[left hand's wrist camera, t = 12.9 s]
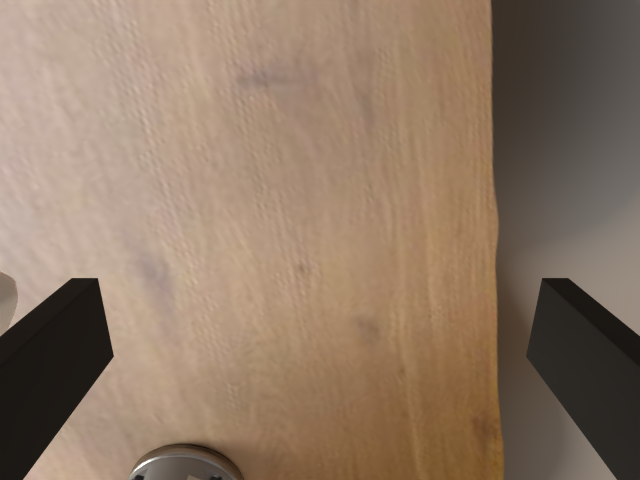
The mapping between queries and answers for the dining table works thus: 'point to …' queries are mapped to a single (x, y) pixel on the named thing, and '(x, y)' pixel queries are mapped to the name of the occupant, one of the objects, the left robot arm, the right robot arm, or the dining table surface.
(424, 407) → the dining table surface
